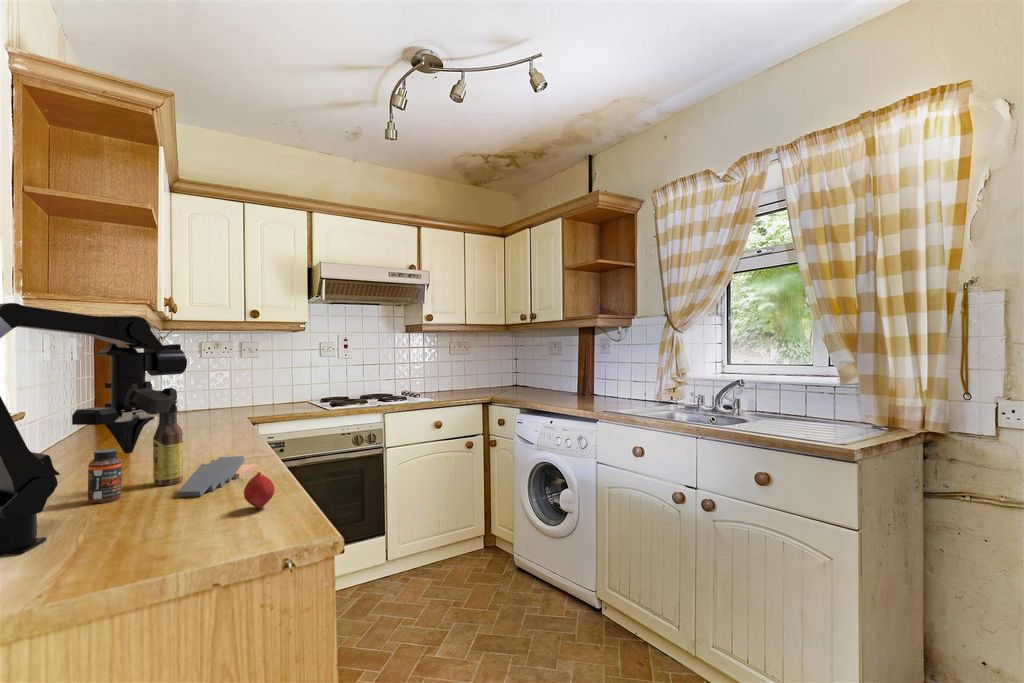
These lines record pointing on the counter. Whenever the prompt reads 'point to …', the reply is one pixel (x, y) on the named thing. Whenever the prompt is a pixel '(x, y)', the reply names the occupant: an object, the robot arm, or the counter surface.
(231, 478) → the domino
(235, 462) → the domino
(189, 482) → the domino
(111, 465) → the supplement bottle
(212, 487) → the domino
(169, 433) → the sauce bottle
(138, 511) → the counter surface
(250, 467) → the domino
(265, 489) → the onion
